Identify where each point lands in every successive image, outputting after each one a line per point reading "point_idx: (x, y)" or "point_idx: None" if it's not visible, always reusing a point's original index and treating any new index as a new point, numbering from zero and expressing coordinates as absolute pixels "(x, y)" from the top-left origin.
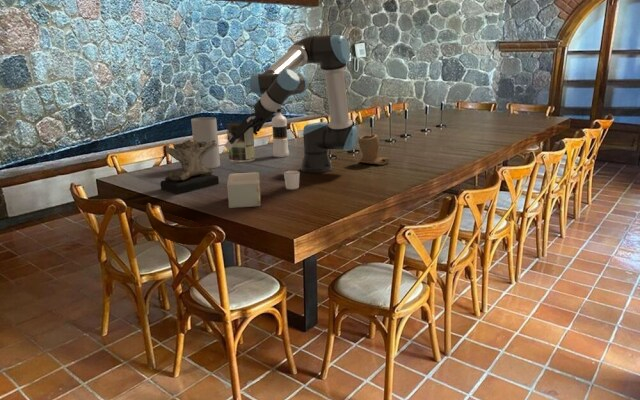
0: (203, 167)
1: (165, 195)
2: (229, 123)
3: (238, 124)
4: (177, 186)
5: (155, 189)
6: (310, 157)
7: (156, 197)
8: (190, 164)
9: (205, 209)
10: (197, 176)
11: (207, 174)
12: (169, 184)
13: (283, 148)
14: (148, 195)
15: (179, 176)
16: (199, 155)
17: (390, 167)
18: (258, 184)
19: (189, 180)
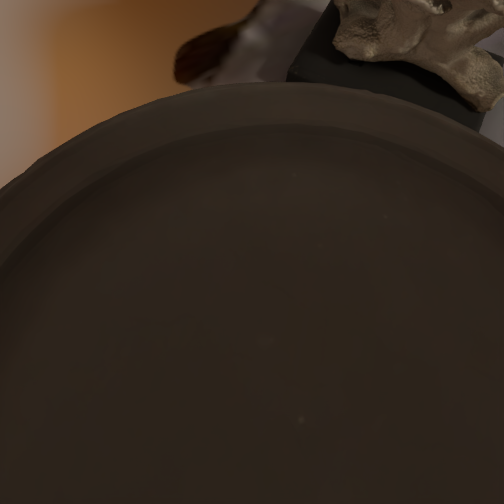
0: (473, 67)
1: (266, 60)
2: (307, 119)
3: (201, 441)
4: (290, 68)
5: (324, 3)
6: None
7: (239, 45)
8: (399, 23)
9: None
10: (434, 76)
11: (471, 99)
12: (311, 32)
13: None
14: (256, 14)
15: (335, 36)
16: (464, 14)
17: None
18: None
19: (370, 74)
